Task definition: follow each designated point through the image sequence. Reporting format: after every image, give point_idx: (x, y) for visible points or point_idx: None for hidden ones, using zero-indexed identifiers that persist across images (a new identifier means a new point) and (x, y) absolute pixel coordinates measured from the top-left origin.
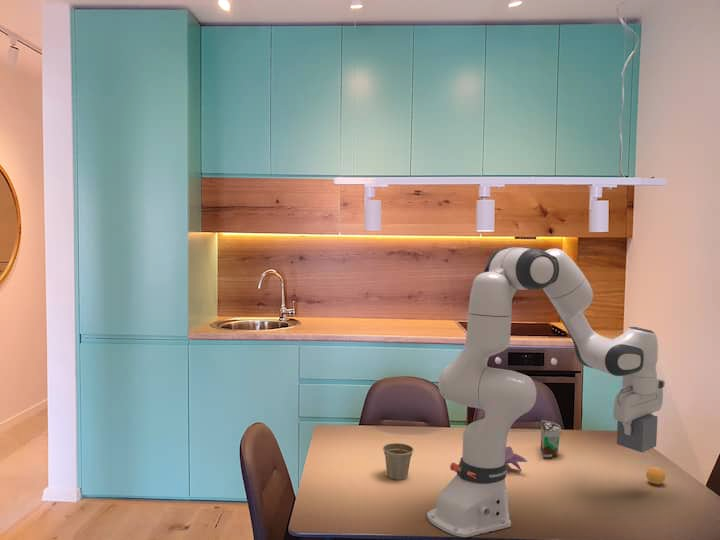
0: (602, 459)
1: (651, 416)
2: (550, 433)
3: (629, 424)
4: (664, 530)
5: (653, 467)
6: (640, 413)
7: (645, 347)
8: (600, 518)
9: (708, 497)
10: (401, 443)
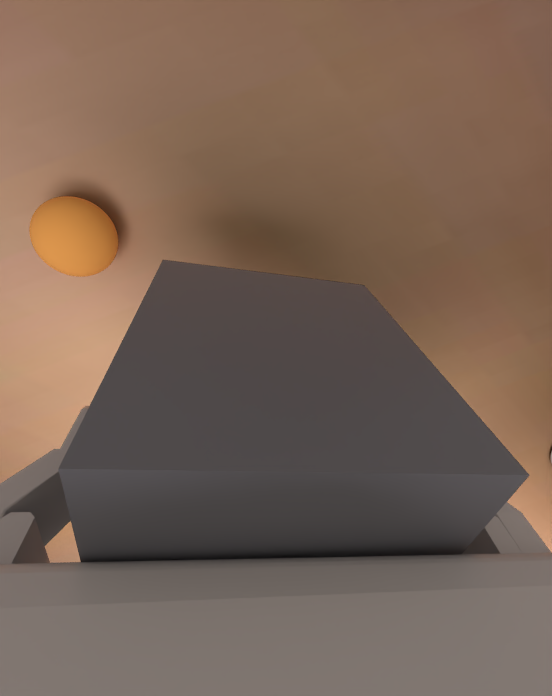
0: (64, 423)
1: (168, 511)
2: None
3: (511, 511)
4: (540, 18)
5: (67, 259)
6: (423, 631)
7: None
8: (530, 252)
9: None
10: None
